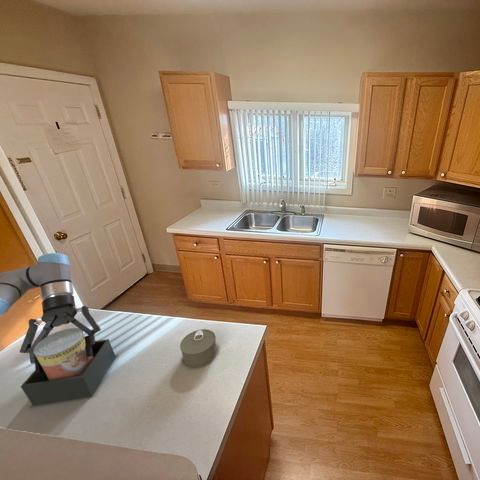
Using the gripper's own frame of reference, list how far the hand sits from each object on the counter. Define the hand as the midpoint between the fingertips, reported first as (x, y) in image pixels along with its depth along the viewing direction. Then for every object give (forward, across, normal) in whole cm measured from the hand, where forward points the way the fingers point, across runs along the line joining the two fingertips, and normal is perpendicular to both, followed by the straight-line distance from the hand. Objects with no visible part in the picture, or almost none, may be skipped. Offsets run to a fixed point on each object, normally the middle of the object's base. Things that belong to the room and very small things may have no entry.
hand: (66, 364), depth 80 cm
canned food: (+2, 0, -5) cm, 6 cm away
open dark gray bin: (+5, 0, -9) cm, 10 cm away
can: (+13, -37, -1) cm, 39 cm away
